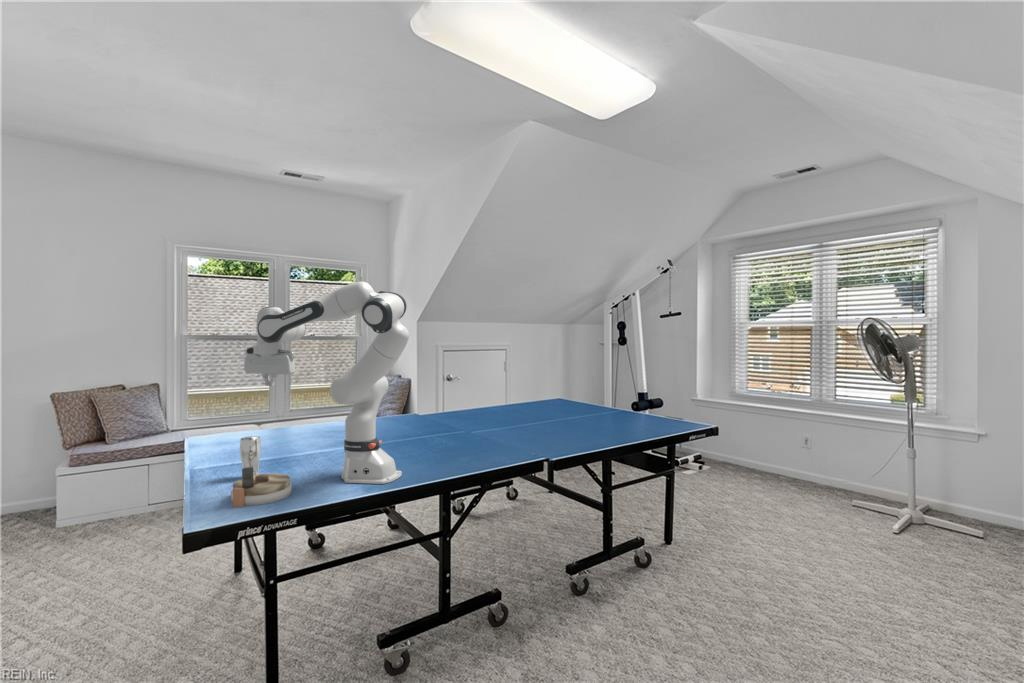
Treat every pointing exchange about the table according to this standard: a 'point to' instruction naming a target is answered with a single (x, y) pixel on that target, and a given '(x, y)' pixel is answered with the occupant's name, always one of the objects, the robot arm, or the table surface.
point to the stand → (257, 497)
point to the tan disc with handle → (261, 482)
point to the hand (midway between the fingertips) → (270, 385)
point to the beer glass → (250, 453)
